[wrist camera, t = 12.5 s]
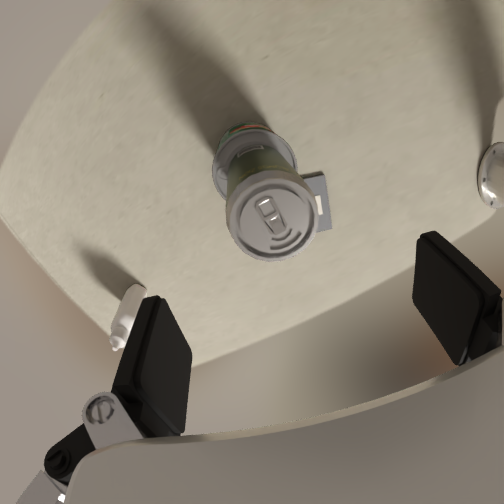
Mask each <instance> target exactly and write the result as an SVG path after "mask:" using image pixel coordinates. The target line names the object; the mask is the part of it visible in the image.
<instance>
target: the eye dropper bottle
mask: <svg viewBox="0 0 504 504" xmlns="http://www.w3.org/2000/svg"><path fill="white" fill-rule="evenodd" d="M146 296H147V290H146V289H145V288H144V287H142V286H140V285H138V284H134V285H132V286H131V287H129V288H128V290H127V291H126V292H125V294H124V297H123V299H122V301H121V303H120V305H119V308H118V310H117V312H116V315H115V317H114V319H113V322H112V325H111V332H112V333H111V336H110V338H109V340H110V343H111V344H112V345H113V348H112V349H113V350H114V351H117V350H118V348H123V347H125V345H126V342H127V339H128V337H129V334H130V331H131V329H132V326H133V323H134V320H135V318H136V315H137V312H138V309H139V307H140V304H141V302H142V299H143V298H146Z"/></svg>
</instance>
